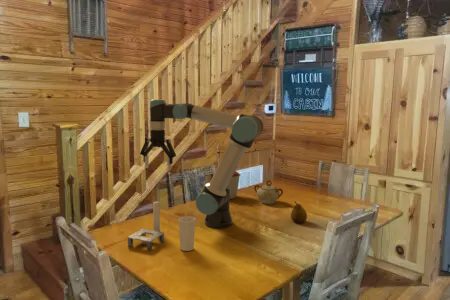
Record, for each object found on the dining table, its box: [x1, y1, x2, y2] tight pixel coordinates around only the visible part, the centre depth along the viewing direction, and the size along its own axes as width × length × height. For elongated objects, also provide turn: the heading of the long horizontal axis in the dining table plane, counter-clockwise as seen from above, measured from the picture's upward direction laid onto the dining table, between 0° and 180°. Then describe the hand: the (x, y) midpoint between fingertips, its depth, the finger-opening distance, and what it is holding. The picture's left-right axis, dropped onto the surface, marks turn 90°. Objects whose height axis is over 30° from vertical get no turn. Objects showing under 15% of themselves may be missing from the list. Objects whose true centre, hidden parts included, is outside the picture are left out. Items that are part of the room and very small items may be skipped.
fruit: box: [290, 201, 308, 224], centre depth 207 cm, size 9×9×12 cm
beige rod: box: [152, 201, 161, 232], centre depth 186 cm, size 3×3×16 cm
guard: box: [127, 228, 165, 252], centre depth 173 cm, size 12×12×5 cm
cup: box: [178, 215, 197, 252], centre depth 168 cm, size 8×8×14 cm
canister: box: [229, 170, 241, 200], centre depth 253 cm, size 18×18×21 cm
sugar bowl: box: [253, 180, 284, 205], centre depth 243 cm, size 20×15×15 cm
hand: (158, 169), depth 196 cm, fingers open, 13 cm apart
